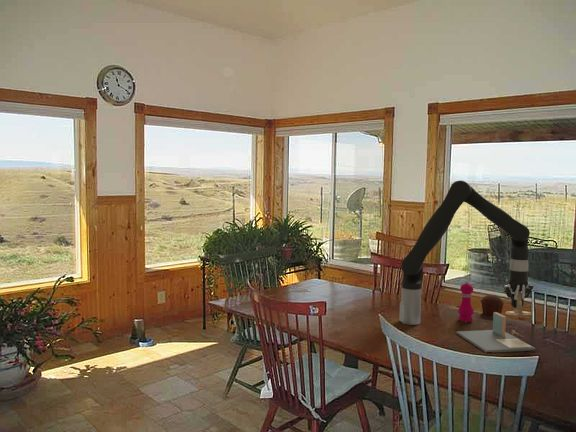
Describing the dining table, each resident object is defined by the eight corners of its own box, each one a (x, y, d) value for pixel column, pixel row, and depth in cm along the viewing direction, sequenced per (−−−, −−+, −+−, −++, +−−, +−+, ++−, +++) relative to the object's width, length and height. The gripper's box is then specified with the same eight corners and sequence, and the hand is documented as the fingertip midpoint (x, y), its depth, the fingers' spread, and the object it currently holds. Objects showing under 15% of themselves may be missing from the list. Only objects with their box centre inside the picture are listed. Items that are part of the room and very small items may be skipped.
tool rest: (509, 348, 195) (509, 347, 195) (495, 340, 205) (495, 339, 205) (531, 347, 197) (531, 346, 197) (516, 339, 206) (516, 338, 206)
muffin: (484, 309, 256) (485, 291, 255) (506, 313, 249) (506, 295, 248) (477, 314, 247) (477, 295, 246) (499, 318, 240) (500, 299, 239)
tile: (501, 336, 209) (502, 316, 208) (492, 331, 216) (493, 312, 215) (505, 336, 209) (505, 316, 209) (495, 331, 216) (496, 312, 216)
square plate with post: (514, 315, 208) (513, 290, 209) (505, 313, 215) (503, 289, 216) (531, 314, 210) (529, 289, 210) (521, 313, 216) (520, 288, 217)
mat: (486, 352, 193) (486, 350, 192) (456, 333, 216) (456, 331, 216) (535, 350, 196) (535, 347, 196) (501, 331, 219) (501, 329, 219)
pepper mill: (459, 317, 242) (460, 278, 241) (474, 319, 238) (476, 280, 237) (456, 320, 236) (458, 281, 234) (471, 323, 232) (473, 282, 231)
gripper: (509, 271, 207) (508, 310, 208) (538, 270, 209) (536, 308, 210) (499, 267, 214) (498, 305, 216) (527, 267, 216) (526, 304, 218)
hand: (517, 307), depth 213 cm, fingers closed on square plate with post, 2 cm apart
